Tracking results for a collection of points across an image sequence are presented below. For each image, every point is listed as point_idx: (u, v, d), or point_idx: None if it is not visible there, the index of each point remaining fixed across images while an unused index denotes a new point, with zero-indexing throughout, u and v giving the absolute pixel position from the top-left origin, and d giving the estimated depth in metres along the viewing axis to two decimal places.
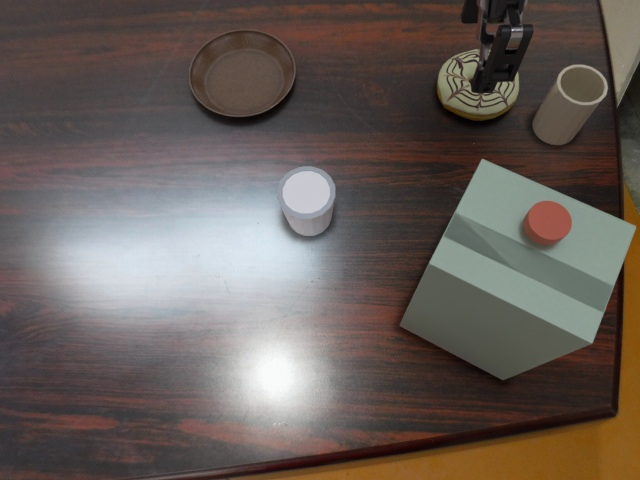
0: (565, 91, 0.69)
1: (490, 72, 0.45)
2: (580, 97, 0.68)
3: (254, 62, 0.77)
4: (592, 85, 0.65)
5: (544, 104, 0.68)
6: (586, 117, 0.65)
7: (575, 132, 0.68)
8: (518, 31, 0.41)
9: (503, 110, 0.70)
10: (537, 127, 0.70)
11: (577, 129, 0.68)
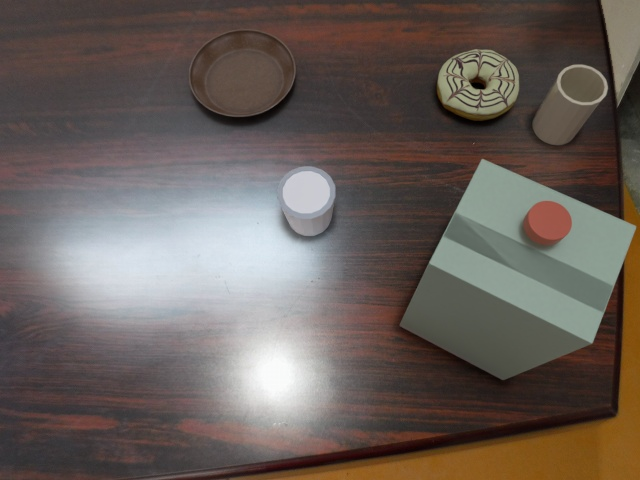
0: (565, 91, 0.69)
1: None
2: (580, 97, 0.68)
3: (254, 62, 0.77)
4: (592, 85, 0.65)
5: (544, 104, 0.68)
6: (586, 117, 0.65)
7: (575, 132, 0.68)
8: None
9: (503, 110, 0.70)
10: (537, 127, 0.70)
11: (577, 129, 0.68)
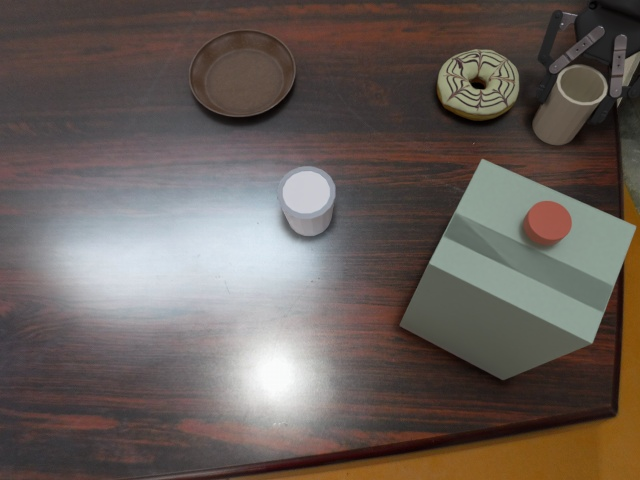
0: (565, 91, 0.69)
1: None
2: (580, 97, 0.68)
3: (254, 62, 0.77)
4: (592, 85, 0.65)
5: (544, 104, 0.68)
6: (586, 117, 0.65)
7: (575, 132, 0.68)
8: None
9: (503, 110, 0.70)
10: (537, 127, 0.70)
11: (577, 129, 0.68)
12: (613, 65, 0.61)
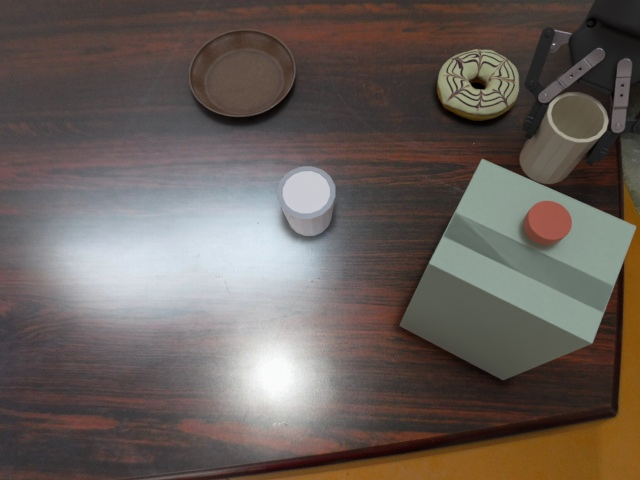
0: (558, 121, 0.58)
1: None
2: (575, 129, 0.58)
3: (254, 62, 0.77)
4: (590, 116, 0.55)
5: (533, 137, 0.57)
6: (582, 155, 0.55)
7: (569, 170, 0.58)
8: None
9: (503, 110, 0.70)
10: (525, 163, 0.60)
11: (572, 167, 0.57)
12: (615, 95, 0.51)
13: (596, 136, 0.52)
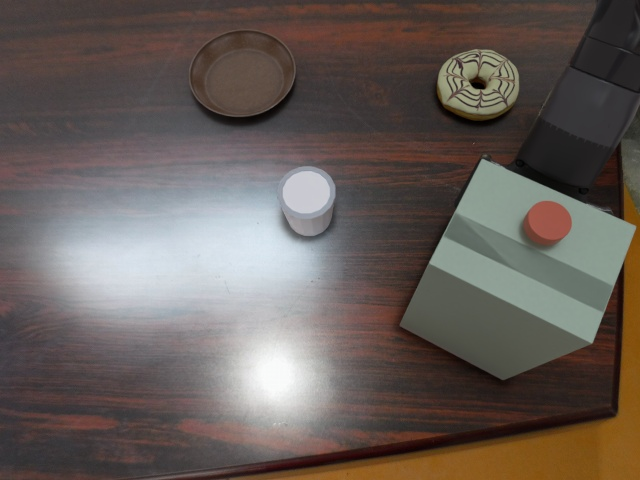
0: None
1: None
2: None
3: (254, 62, 0.77)
4: None
5: None
6: None
7: None
8: (483, 156, 0.54)
9: (503, 110, 0.70)
10: None
11: None
12: None
13: None
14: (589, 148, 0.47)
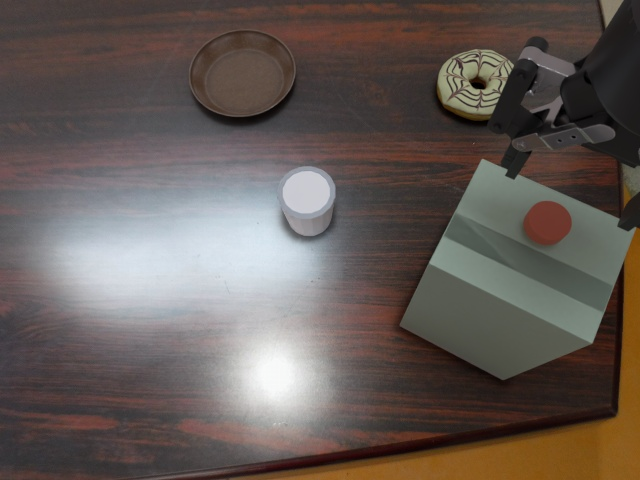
0: None
1: None
2: None
3: (254, 62, 0.77)
4: None
5: None
6: None
7: None
8: (525, 54, 0.28)
9: None
10: None
11: None
12: None
13: None
14: None
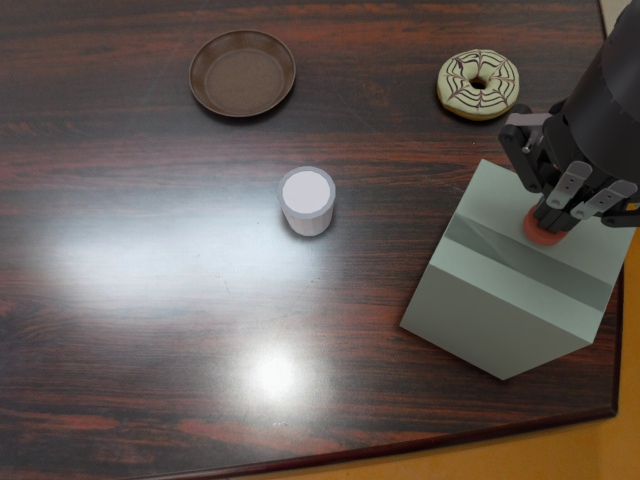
0: None
1: None
2: None
3: (254, 62, 0.77)
4: None
5: None
6: None
7: None
8: (506, 121, 0.33)
9: (503, 110, 0.70)
10: None
11: None
12: (593, 198, 0.32)
13: None
14: None
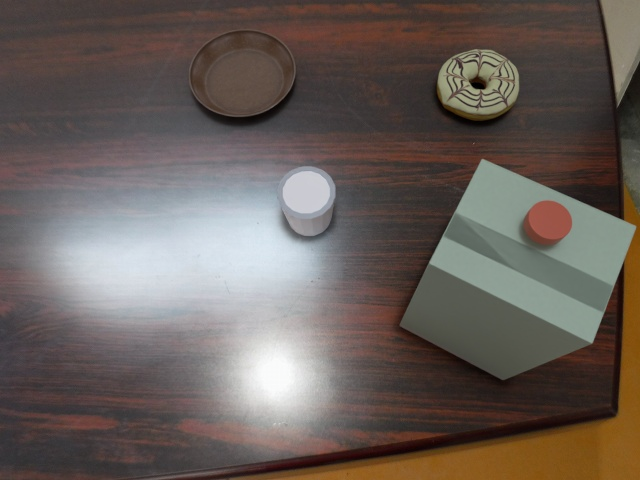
0: None
1: None
2: None
3: (254, 62, 0.77)
4: None
5: None
6: None
7: None
8: None
9: (503, 110, 0.70)
10: None
11: None
12: None
13: None
14: None
